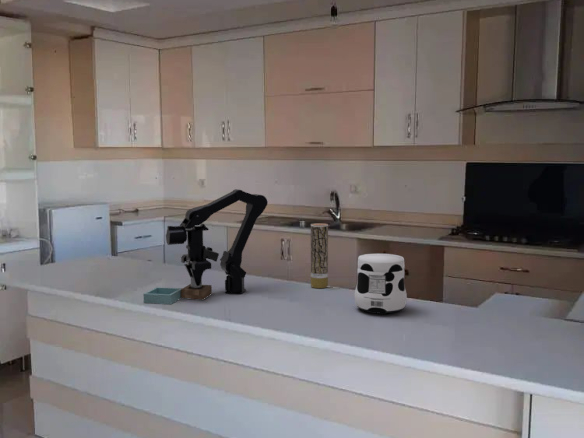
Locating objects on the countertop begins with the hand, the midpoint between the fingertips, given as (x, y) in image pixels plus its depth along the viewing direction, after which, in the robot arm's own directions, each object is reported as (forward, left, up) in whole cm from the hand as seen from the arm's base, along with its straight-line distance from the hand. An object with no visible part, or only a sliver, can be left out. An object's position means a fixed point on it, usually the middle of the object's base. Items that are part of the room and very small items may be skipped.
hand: (196, 284), depth 210 cm
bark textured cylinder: (-42, -25, -5) cm, 49 cm away
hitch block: (0, 0, -4) cm, 4 cm away
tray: (+10, +7, -4) cm, 13 cm away
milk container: (-68, +4, -5) cm, 68 cm away
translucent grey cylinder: (0, 0, -4) cm, 4 cm away
